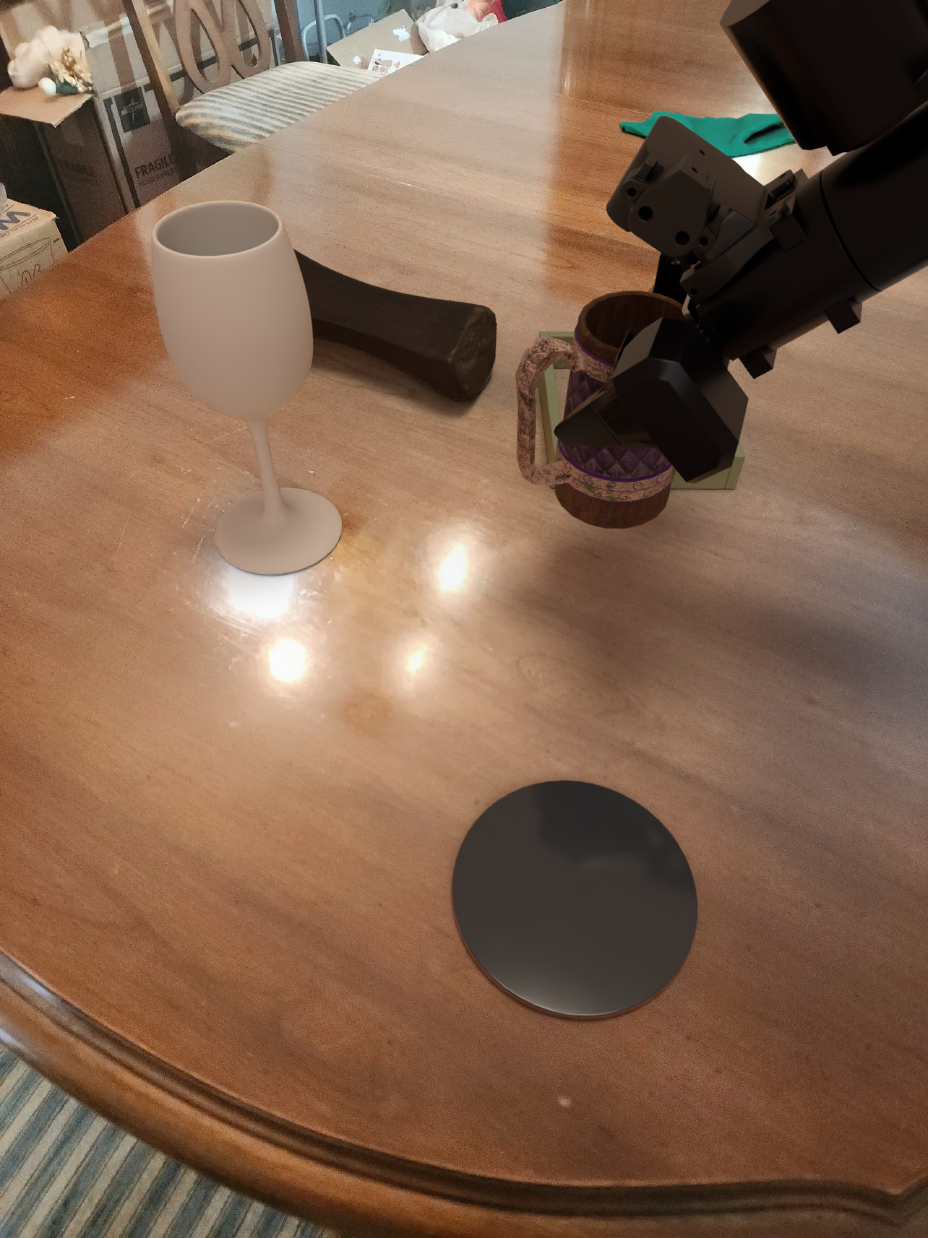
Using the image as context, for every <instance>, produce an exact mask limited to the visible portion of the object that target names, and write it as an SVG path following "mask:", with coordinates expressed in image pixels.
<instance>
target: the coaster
mask: <svg viewBox="0 0 928 1238" xmlns="http://www.w3.org/2000/svg"><path fill="white" fill-rule="evenodd" d="M454 861H455V862H454V866H453V871H452V883H451V896H452V909H453V914H454V919H455V924H456V926H457V929H458V932H459V935H460V938H461V940H462V942H463V944H464V946H465V948H466V950H467V952H468V954H469V955H470V957H471V958H472V960H473V961H474V963H475V964H476V965H477V967H478V968H479V969H480V971H481V972H482V973H483V974H484V975H485V976H486V978H487V979H488V980H489V981H490V982H491V983H493V984H494V985H495V986H496V987H497V988H498V989H499V990H501V991H502V992H503V993H504V994H506V995H507V996H509V997H510V998H512V999H513V1000H515V1001H516V1002H518V1003H520V1004H522V1005H523V1006H526V1007H528V1008H530V1009H532V1010H534V1011H536V1012H539V1013H543V1014H546V1015H548V1016H552V1017H557V1018H562V1019H567V1020H578V1021H579V1020H580V1021H592V1020H604V1019H608V1018H612V1017H617V1016H622V1015H623V1014H627V1013H630V1012H631V1011H634V1010H637V1009H638V1008H640V1007H642V1006H643V1005H645V1004H647V1003H650V1001H651V1000H653V999H655V998H656V997H657V996H658V995H659V994H661V993H662V992H663V991H664V990H665V989H666V988H667V987H668V985H670V983H671V982H672V981H673V980H674V979H675V977H676V976H677V975H678V973H679V971H680V970H681V969H682V967H683V966H684V963H686V960H687V958H688V955H689V953H690V951H691V949H692V947H693V943H694V941H695V940H694V939H695V936H696V931H697V926H698V920H699V919H698V918H699V915H698V914H699V902H698V893H697V892H698V891H697V886H696V882H695V879H694V875H693V871H692V868H691V866H690V864H689V861H688V859H687V856H686V855H685V853H684V851H683V850H682V848H681V846H680V844H679V842H678V841H677V840H676V838H675V837H674V835H673V834H672V833H671V831H670V830H669V829H668V827H666V826H665V824H664V823H663V822H662V821H661V820H660V819H659V818H658V817H657V816H656V815H654V814H653V813H652V812H651V811H650V810H649V809H647V808H646V807H645V806H644V805H642V804H640V803H639V802H638V801H636V800H634V799H633V798H631V797H629V796H627V795H626V794H624V793H622V792H620V791H616V790H614V789H612V788H609V787H607V786H603V785H600V784H596V783H593V782H586V781H580V780H569V779H568V780H566V779H561V780H548V781H542V782H536V783H531V784H529V785H526V786H523V787H520V788H518V789H515V790H513V791H511V792H509V793H507V794H505V795H504V796H502V797H501V798H499V799H498V800H496V801H494V802H493V803H492V804H491V805H490V806H489V807H487V808H486V809H485V810H484V811H483V812H482V813H481V814H480V815H479V816H478V817H477V819H476V820H475V821H474V822H473V824H472V825H471V826H470V827H469V829H468V831H467V832H466V834H465V836H464V838H463V840H462V842H461V844H460V846H459V849H458V852H457V855H456V858H455V860H454Z"/></svg>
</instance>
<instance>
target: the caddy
mask: <svg viewBox="0 0 928 1238" xmlns="http://www.w3.org/2000/svg"><path fill="white" fill-rule="evenodd" d="M573 336H574V331H562V330H561V331H557V330H556V331H551V330H539V331H538V338H543V337H553V338H557V339H560V340H562V341H565V342H568V343H570V345H571V346H572V342H573ZM555 369H570V368H569V367H568V366H567V364H566V363H565V362H564V360H559V361H557V362H555V363H552V364H551V365H550V366H549V367H548V368H547V369H546V370H545V371H544V372H543V373H542V375H541V378H540V380H539V383H538V389H539V398H540V407H541V414H542V415H541V416H542V424H543V432H544V441H545V451H546V457H547V464H551V463H555V462H556V457H555V453H556V446H557V437H556V436H555V434H554V429H555V427H556V426H557V425H558V424H559V423H560V422H561V421H562V419H561V412H560V405H559V397H558V391H557V382H556V375H555ZM745 460H746V454H745V451H744V449H743V446H742V443H741V440H740V439H739V443H738V447H737V450H736V453H735V457H734V460H733V463H732V467H730V468H728V469H725V470H723V471H721V472H719V473H717V474H715V475H713V476H710V477H708V478H706V479H704V480H702V481H700V482H698V483H695V484H694V483H687V482H685V481H684V479H683V478H682V477H681V476H680V475H679V473H678V472H677V471H676V473H675V476H674V480H673V481H672V483H671V489H683V490H684V489H686V490H687V489H689V490H690V489H693V490H695V489H696V490H697V489H700V490H701V489H702V490H705V489H707V490H709V489H710V490H713V489H714V490H724V489H725V490H735V489H736V487H737V485H738V481H739V477H740V476H741V475H740V474H741V472H742V470H743V466H744V463H745ZM550 489H555V485H550Z"/></svg>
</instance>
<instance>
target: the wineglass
mask: <svg viewBox="0 0 928 1238" xmlns="http://www.w3.org/2000/svg"><path fill="white" fill-rule="evenodd" d="M293 248H294V246H293V244H292V241H291V239H290V236H289V233H288V231H287V229H286V226H285V223H284V222H283V220H282V219H281V217H280V216H279V214H277V213H276V212H275V211H274V210H272V209H271V208H269V207H267V206H264V205H261V204H259V203H255V202H250V201H244V200H234V199H228V200H227V199H219V200H218V199H217V200H208V201H203V202H196V203H193V204H188V205H186V206H182V207H180V208H177V209H175V210H173V211H171V212H169V213H167V214H166V215H164V216H163V217H161V218H160V219H159V220H158V221H157V222H156V223H155V225H154V226H153V229H152V231H151V236H150V251H151V252H150V253H151V254H150V255H151V275H152V276H151V277H152V289H153V297H154V305H155V311H156V316H157V322H158V326H159V330H160V333H161V337H162V340H163V345H164V347H165V350H166V353H167V356H168V358H169V361H170V363H171V367H172V368H173V371H174V372H175V375H176V376H177V378H178V379H179V381H180V383H181V385H183V387H184V388H185V389H186V391H187V392H188V393H189V394H190V395H191V396H192V397H193V398H195V400H196V401H198V402H199V403H200V404H202V405H204V406H205V407H207V408H208V409H210V410H212V411H213V412H215V413H218V414H220V415H222V416H225V417H229V418H233V419H237V420H243V421H244V422H245V424H246V426H247V429H248V431H249V435H250V437H251V440H252V444H253V447H254V451H255V456H256V461H257V465H258V472H259V476H260V482H261V490H260V491H256V492H254V493H251V494H248V495H247V496H244V497H242V498H241V499H239V500H238V501H236V502H235V503H233V504H232V505H230V506H229V507H228V509H226V511H224V513H223V514H222V515H221V516H220V519H219V520H218V522H217V524H216V527H215V531H214V542H215V546H216V548H217V550H218V552H219V554H220V555H221V556H222V558H224V560H226V561H227V562H228V563H230V564H231V565H232V566H233V567H236V568H238V569H240V570H242V571H244V572H248V573H253V574H259V575H269V576H270V575H284V574H290V573H294V572H298V571H301V570H304V569H306V568H309V567H311V566H313V565H315V564H316V563H318V562H320V561H321V560H322V559H324V558H325V557H327V556H328V555H329V554H330V553H331V552H332V551H333V549H334V548H335V546H337V544H338V542H339V540H340V537H341V536H342V531H343V522H342V517H341V513H340V512H339V510H338V508H337V507H336V506H335V505H334V504H333V502H331V500H329V499H327V498H325V497H324V496H323V495H321V494H319V493H316V492H314V491H311V490H308V489H304V488H299V487H298V488H297V487H280V485H279V482H278V478H277V474H276V470H275V464H274V461H273V455H272V449H271V443H270V436H269V418H270V416H271V415H273V414H275V413H278V412H280V411H281V410H283V409H284V408H285V407H286V406H288V405H289V404H290V403H291V402H292V401H293V400H294V398H295V397H296V396H297V395H298V394H299V393H300V392H301V390H302V388H303V386H304V385H305V384H306V381H307V379H308V377H309V375H310V370H311V367H312V362H313V359H314V358H313V356H314V338H313V333H312V322H311V314H310V307H309V302H308V297H307V292H306V288H305V284H304V281H303V277H302V274H301V270H300V267H299V264H298V261H297V258H296V255H295V252H294V249H295V248H294V249H293Z"/></svg>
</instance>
